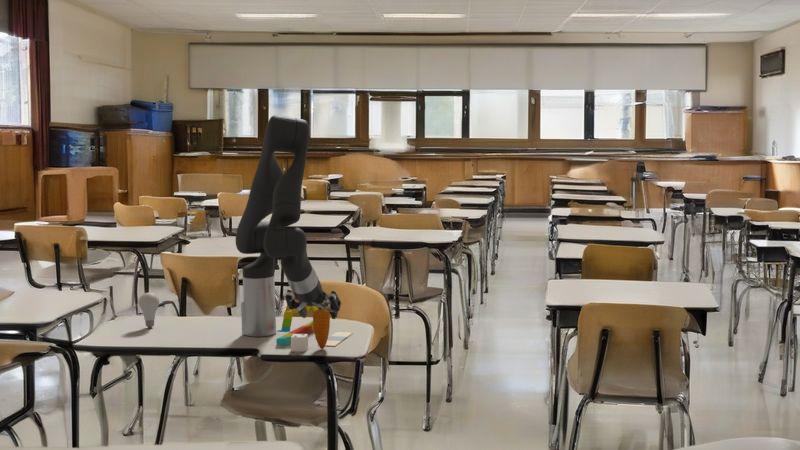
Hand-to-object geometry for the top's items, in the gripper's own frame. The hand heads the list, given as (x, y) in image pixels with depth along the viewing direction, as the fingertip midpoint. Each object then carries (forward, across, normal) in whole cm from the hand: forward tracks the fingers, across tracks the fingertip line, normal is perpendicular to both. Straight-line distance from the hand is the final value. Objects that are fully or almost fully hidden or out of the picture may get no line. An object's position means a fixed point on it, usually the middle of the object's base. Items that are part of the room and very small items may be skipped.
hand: (319, 315), depth 255 cm
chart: (+20, +12, -6) cm, 25 cm away
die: (+6, +6, +7) cm, 11 cm away
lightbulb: (+18, +62, -5) cm, 64 cm away
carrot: (+8, 0, +6) cm, 10 cm away
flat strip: (+16, 0, -2) cm, 16 cm away
